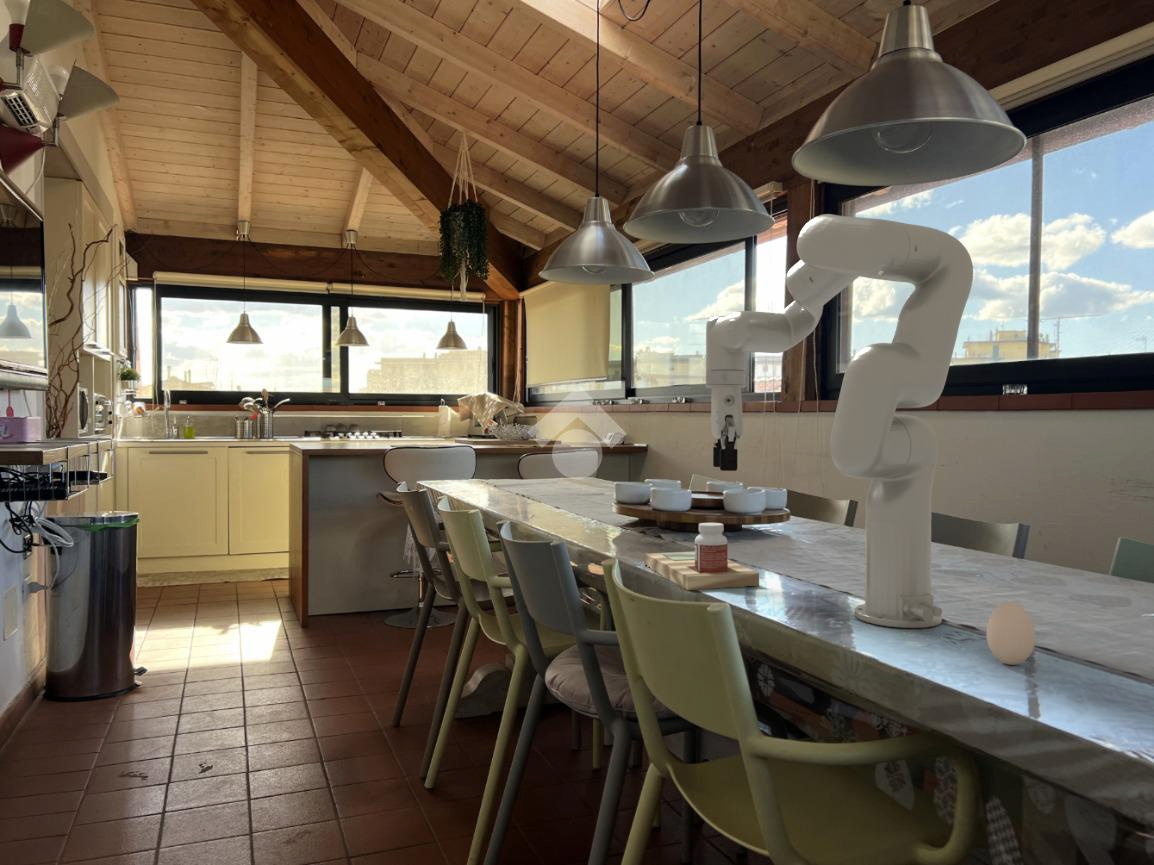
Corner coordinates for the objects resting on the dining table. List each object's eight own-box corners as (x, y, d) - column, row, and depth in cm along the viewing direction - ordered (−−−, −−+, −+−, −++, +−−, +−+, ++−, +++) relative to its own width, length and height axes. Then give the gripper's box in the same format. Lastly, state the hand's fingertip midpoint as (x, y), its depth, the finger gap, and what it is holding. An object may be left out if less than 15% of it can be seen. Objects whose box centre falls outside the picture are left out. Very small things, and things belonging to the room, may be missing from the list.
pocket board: (759, 586, 154) (759, 571, 154) (687, 590, 151) (687, 575, 151) (706, 562, 180) (706, 549, 179) (644, 565, 176) (644, 552, 176)
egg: (988, 668, 104) (988, 605, 104) (984, 656, 109) (984, 596, 109) (1038, 672, 102) (1038, 608, 102) (1031, 660, 107) (1031, 599, 107)
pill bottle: (734, 582, 158) (734, 524, 157) (710, 586, 154) (710, 526, 154) (712, 577, 163) (712, 521, 163) (688, 581, 159) (688, 523, 159)
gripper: (752, 379, 153) (752, 472, 153) (737, 381, 170) (737, 465, 170) (711, 379, 153) (711, 472, 153) (700, 381, 170) (700, 465, 171)
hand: (724, 468), depth 162 cm, fingers open, 9 cm apart
